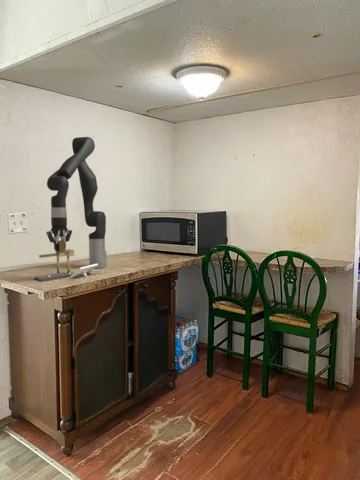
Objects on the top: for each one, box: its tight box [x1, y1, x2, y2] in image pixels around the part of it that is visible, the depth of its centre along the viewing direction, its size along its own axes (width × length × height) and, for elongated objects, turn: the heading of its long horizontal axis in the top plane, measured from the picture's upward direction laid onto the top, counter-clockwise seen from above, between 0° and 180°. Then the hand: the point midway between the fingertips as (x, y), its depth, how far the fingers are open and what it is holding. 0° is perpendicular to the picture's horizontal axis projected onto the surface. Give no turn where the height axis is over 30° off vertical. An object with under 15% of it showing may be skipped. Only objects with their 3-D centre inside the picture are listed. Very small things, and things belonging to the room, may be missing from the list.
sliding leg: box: [55, 239, 66, 274], centre depth 190 cm, size 3×5×17 cm, turn 49°
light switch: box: [69, 264, 98, 279], centre depth 195 cm, size 8×5×14 cm
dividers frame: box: [38, 248, 75, 273], centre depth 189 cm, size 18×5×12 cm, turn 139°
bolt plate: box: [33, 271, 75, 282], centre depth 191 cm, size 20×8×2 cm, turn 139°
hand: (60, 250), depth 189 cm, fingers closed on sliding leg, 3 cm apart
